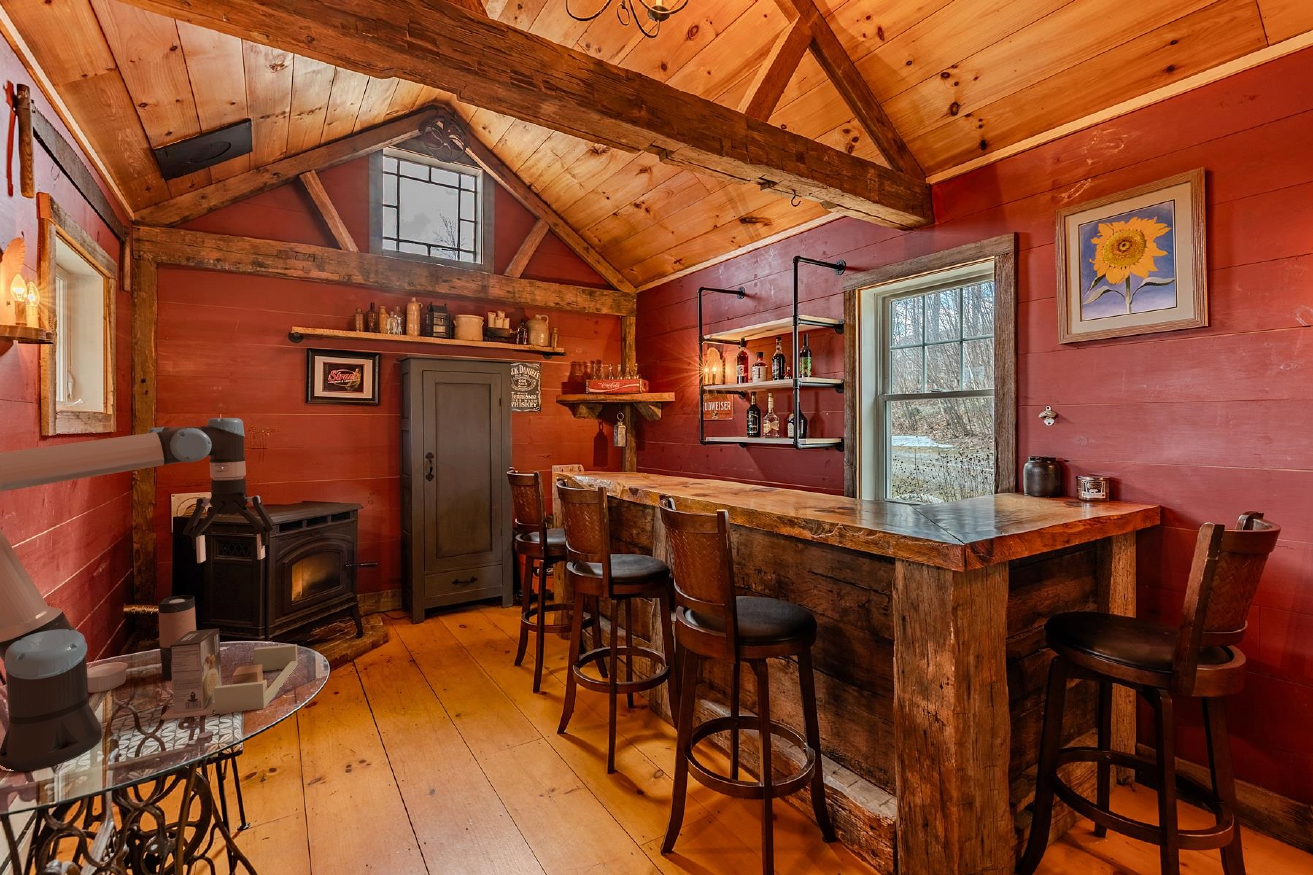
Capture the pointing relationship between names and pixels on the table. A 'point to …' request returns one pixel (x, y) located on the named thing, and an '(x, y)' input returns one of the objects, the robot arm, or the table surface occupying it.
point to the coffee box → (195, 670)
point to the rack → (254, 693)
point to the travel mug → (174, 626)
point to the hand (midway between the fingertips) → (231, 560)
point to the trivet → (171, 714)
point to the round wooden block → (106, 676)
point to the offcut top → (248, 674)
